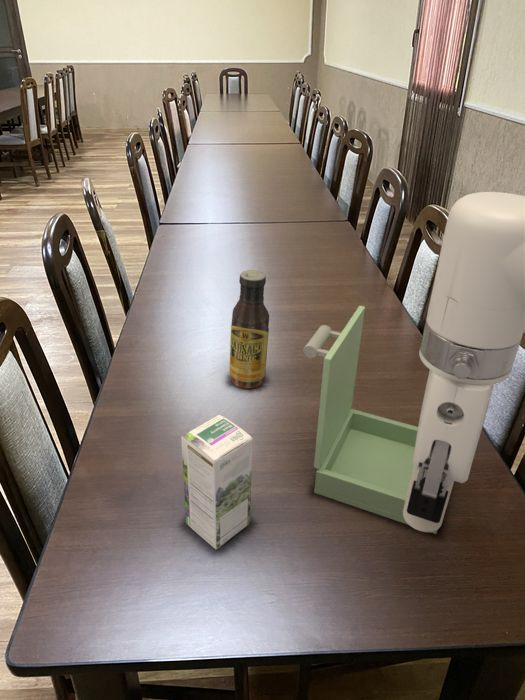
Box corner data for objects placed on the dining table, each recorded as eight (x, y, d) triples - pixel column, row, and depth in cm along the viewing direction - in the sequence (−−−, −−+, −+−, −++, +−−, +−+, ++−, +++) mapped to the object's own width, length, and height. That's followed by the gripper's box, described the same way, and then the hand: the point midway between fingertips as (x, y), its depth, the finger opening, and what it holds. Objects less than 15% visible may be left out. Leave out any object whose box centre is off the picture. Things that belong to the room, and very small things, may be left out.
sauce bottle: (224, 387, 91) (223, 279, 81) (235, 368, 96) (234, 264, 86) (262, 393, 90) (265, 284, 79) (270, 373, 95) (274, 269, 85)
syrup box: (219, 499, 70) (217, 410, 62) (252, 525, 66) (253, 434, 59) (185, 524, 66) (178, 433, 58) (217, 553, 63) (214, 460, 55)
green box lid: (365, 306, 72) (330, 299, 73) (330, 359, 60) (290, 349, 62) (352, 406, 80) (321, 397, 82) (319, 469, 69) (284, 458, 70)
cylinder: (442, 507, 57) (458, 450, 53) (441, 536, 54) (459, 478, 50) (403, 498, 58) (416, 442, 54) (401, 526, 55) (415, 469, 51)
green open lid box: (452, 458, 77) (458, 437, 75) (436, 534, 66) (442, 512, 64) (346, 428, 83) (349, 407, 81) (314, 492, 71) (316, 471, 69)
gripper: (510, 413, 37) (454, 579, 47) (519, 314, 51) (473, 460, 60) (402, 385, 40) (370, 548, 49) (437, 298, 53) (406, 440, 63)
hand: (427, 498), depth 55 cm, fingers closed on cylinder, 4 cm apart
